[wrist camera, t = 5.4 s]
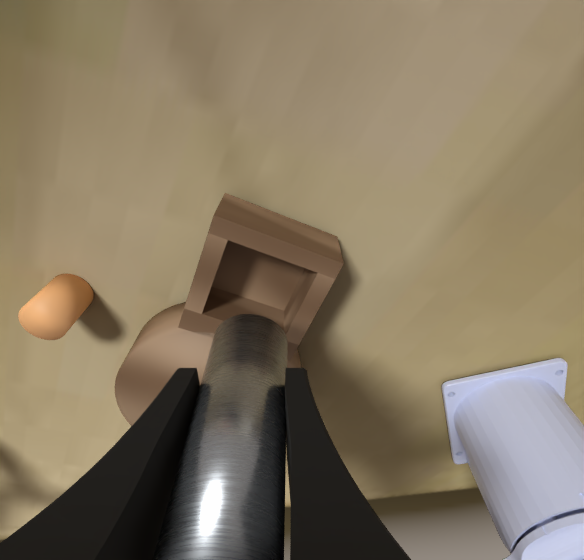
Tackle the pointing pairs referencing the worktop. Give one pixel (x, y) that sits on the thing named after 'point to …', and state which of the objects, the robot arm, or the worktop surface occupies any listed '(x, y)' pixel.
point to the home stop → (56, 307)
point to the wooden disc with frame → (233, 296)
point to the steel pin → (233, 452)
